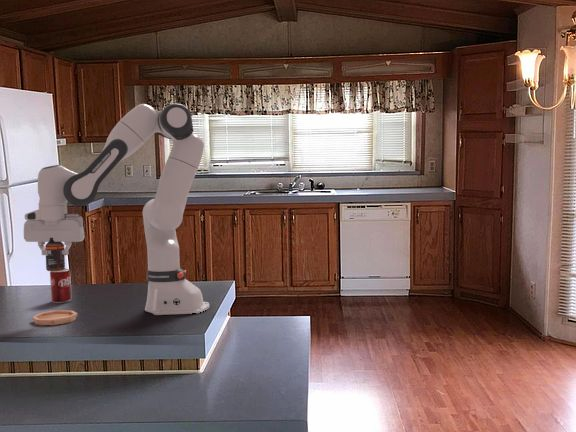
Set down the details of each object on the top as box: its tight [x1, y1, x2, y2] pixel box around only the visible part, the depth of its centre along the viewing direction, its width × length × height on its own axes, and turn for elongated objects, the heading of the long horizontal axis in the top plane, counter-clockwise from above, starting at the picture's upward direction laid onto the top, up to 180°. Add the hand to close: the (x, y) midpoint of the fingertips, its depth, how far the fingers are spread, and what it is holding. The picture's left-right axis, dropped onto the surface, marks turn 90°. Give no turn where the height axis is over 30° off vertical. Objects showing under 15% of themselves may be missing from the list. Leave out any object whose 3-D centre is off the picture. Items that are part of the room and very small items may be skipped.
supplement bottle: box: [44, 238, 66, 272], centre depth 204 cm, size 6×6×11 cm
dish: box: [32, 309, 78, 326], centre depth 202 cm, size 13×13×2 cm
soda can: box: [49, 268, 73, 304], centre depth 230 cm, size 7×7×12 cm
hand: (55, 255), depth 204 cm, fingers closed on supplement bottle, 6 cm apart
